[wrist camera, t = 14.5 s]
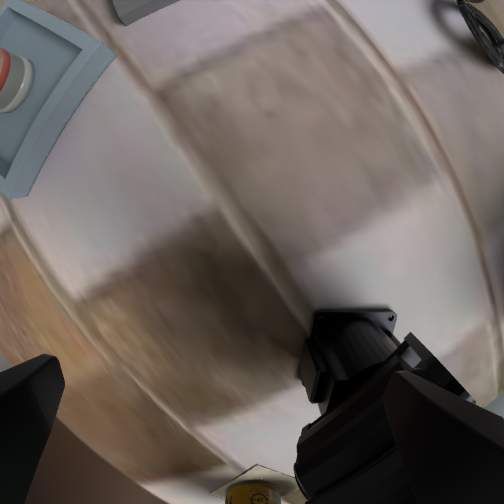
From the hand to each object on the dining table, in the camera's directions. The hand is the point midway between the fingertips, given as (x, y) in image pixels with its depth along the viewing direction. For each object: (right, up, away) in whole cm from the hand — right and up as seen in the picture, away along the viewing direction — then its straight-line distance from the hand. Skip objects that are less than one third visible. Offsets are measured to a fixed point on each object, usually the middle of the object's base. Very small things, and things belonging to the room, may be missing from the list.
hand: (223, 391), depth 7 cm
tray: (-18, +16, +9) cm, 26 cm away
